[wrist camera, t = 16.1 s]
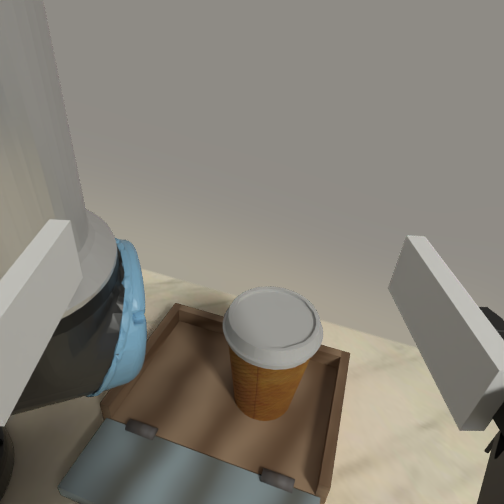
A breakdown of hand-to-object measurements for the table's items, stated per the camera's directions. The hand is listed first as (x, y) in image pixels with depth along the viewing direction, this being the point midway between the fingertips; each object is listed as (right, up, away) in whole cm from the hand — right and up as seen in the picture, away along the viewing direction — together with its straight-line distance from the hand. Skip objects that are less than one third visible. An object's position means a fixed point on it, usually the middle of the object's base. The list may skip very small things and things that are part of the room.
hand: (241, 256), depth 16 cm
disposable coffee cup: (+2, -16, +27) cm, 31 cm away
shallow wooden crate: (-3, -19, +26) cm, 32 cm away
